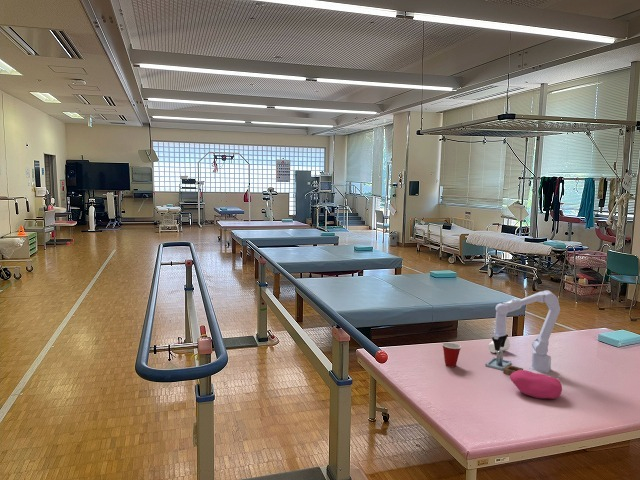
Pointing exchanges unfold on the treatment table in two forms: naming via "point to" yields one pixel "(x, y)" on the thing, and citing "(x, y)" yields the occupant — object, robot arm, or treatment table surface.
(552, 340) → the treatment table surface
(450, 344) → the plastic cup
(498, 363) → the dowel
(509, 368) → the socket block
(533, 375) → the cushion
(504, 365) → the tray
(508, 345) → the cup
